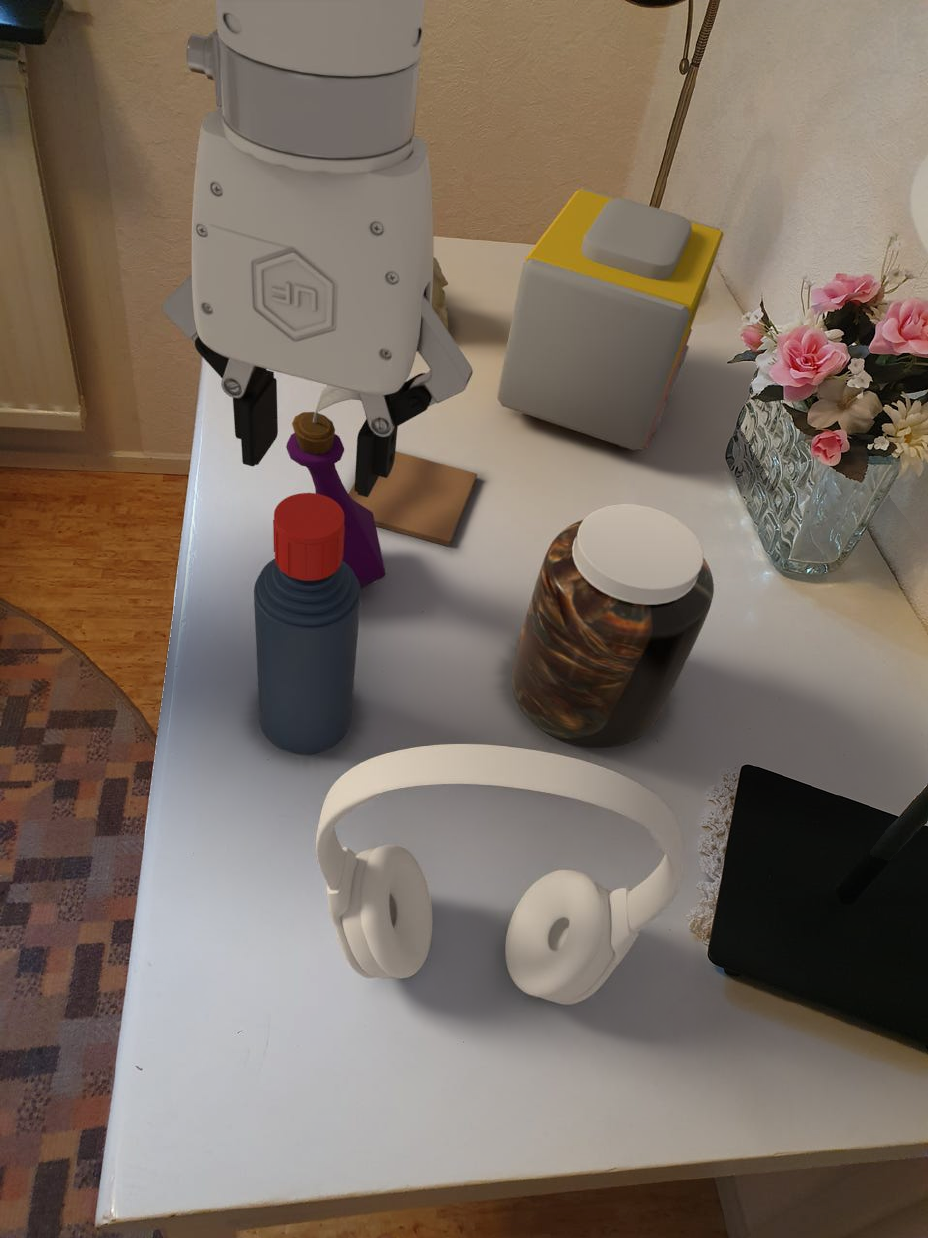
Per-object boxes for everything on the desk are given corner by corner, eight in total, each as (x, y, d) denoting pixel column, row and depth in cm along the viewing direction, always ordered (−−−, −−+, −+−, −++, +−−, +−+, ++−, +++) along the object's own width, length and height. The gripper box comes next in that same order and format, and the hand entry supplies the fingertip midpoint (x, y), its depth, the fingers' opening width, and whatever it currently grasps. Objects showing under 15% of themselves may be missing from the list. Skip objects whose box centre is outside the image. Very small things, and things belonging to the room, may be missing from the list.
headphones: (324, 874, 58) (336, 674, 43) (612, 915, 59) (719, 732, 44) (302, 989, 53) (306, 807, 38) (616, 1031, 54) (738, 869, 39)
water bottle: (244, 739, 64) (232, 542, 50) (279, 671, 68) (277, 473, 55) (332, 765, 63) (344, 574, 50) (362, 695, 68) (381, 502, 54)
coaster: (338, 515, 80) (338, 510, 80) (374, 450, 87) (374, 445, 87) (449, 546, 80) (449, 541, 79) (476, 478, 86) (477, 473, 86)
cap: (264, 570, 53) (262, 527, 51) (289, 527, 56) (289, 485, 53) (328, 588, 53) (330, 546, 50) (351, 545, 55) (353, 503, 53)
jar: (629, 777, 66) (696, 639, 55) (485, 703, 69) (522, 558, 58) (681, 671, 74) (750, 531, 63) (550, 608, 76) (593, 463, 65)
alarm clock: (640, 473, 90) (702, 299, 77) (489, 422, 93) (523, 244, 79) (678, 376, 103) (737, 213, 90) (545, 333, 106) (583, 168, 92)
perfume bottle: (288, 610, 72) (287, 419, 59) (280, 544, 77) (278, 353, 64) (383, 604, 74) (403, 418, 61) (370, 540, 79) (386, 354, 66)
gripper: (62, 75, 34) (129, 465, 47) (512, 182, 33) (452, 553, 46) (158, 23, 39) (194, 389, 52) (551, 114, 38) (486, 465, 51)
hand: (315, 462), depth 49 cm, fingers open, 5 cm apart
